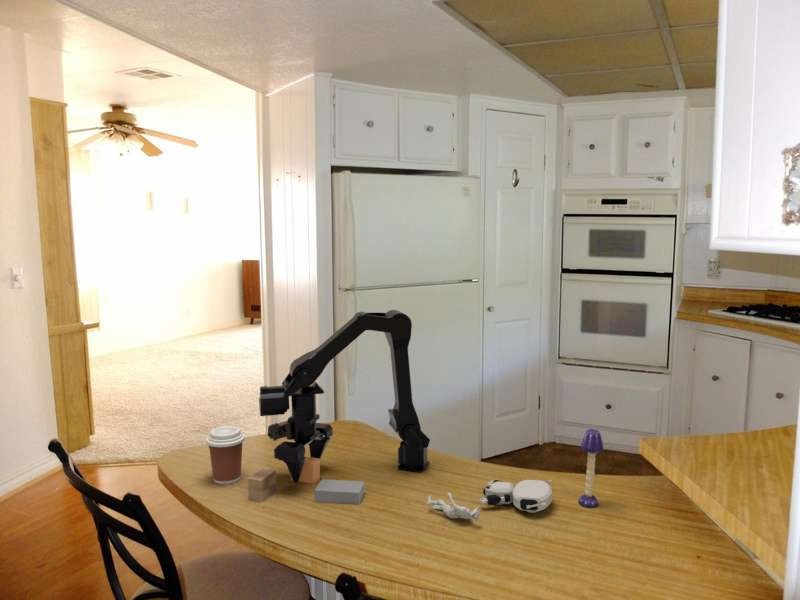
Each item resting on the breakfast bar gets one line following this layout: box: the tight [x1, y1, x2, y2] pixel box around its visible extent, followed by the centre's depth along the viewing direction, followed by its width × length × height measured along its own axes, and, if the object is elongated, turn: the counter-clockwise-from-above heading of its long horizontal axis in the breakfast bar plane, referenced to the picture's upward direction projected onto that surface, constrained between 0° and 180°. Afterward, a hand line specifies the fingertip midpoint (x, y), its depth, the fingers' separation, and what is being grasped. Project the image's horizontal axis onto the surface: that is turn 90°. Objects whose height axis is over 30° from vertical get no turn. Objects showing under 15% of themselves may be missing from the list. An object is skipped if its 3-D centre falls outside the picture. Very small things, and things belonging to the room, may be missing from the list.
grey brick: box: [314, 478, 366, 505], centre depth 142 cm, size 10×6×3 cm, turn 82°
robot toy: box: [479, 479, 553, 514], centre depth 138 cm, size 12×4×15 cm
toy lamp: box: [578, 428, 604, 509], centre depth 137 cm, size 5×5×17 cm
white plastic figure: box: [426, 492, 480, 522], centre depth 132 cm, size 8×5×12 cm
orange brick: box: [290, 456, 321, 485], centre depth 152 cm, size 6×3×5 cm, turn 70°
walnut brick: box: [247, 468, 277, 503], centre depth 143 cm, size 6×3×5 cm, turn 160°
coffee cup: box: [205, 425, 246, 485], centre depth 152 cm, size 9×9×12 cm
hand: (305, 474), depth 152 cm, fingers open, 9 cm apart
